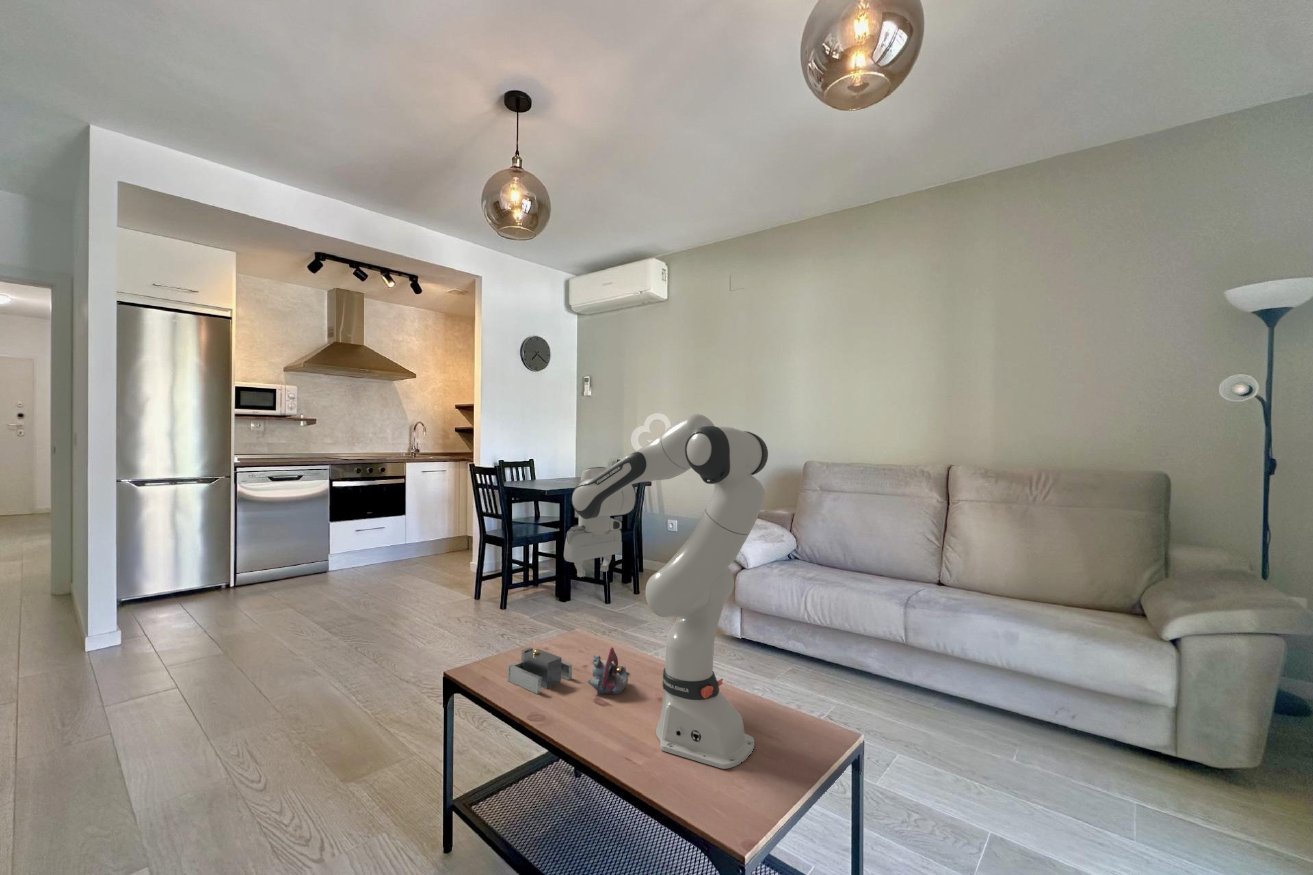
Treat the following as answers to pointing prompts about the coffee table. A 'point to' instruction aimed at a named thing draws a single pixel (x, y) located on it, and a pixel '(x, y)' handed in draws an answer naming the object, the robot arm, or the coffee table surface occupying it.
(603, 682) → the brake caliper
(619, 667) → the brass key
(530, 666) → the block
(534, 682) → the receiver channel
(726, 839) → the coffee table surface
